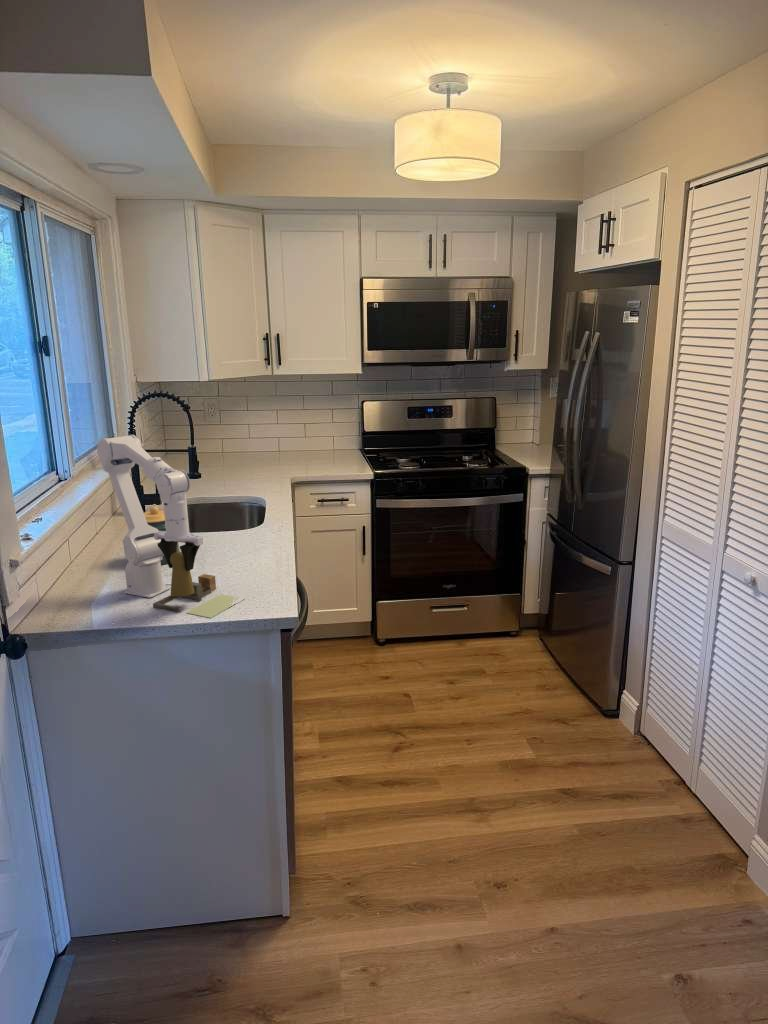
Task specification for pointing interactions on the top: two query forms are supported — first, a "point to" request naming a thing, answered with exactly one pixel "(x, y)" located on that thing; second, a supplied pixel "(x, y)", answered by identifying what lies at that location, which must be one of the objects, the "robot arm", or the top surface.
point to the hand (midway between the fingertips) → (181, 568)
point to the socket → (196, 597)
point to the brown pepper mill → (180, 577)
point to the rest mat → (213, 606)
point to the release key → (207, 582)
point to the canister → (157, 524)
